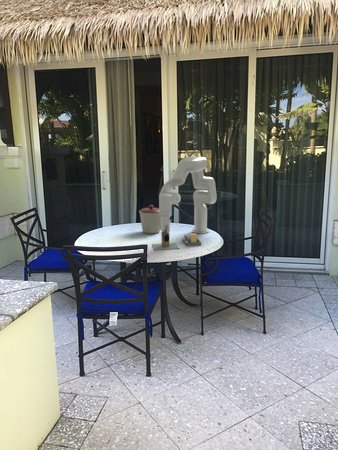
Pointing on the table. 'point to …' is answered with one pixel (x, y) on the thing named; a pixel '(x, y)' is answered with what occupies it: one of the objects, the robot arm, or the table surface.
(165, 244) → the brown rectangular block
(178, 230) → the table surface
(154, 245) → the tool mat
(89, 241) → the table surface
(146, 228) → the canister
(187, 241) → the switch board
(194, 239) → the tan orange cube block
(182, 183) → the robot arm
